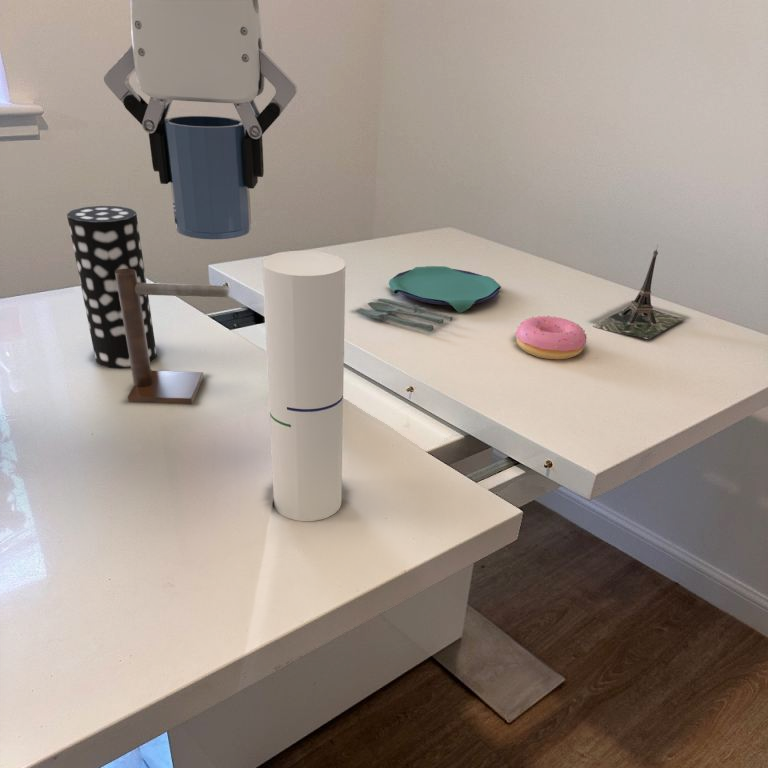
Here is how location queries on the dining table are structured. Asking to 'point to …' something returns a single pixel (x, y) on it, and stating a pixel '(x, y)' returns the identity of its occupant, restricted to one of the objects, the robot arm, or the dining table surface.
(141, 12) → the robot arm
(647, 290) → the eiffel tower figurine
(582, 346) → the doughnut
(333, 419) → the cylindrical container
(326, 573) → the dining table surface
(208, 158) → the mug
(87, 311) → the white-spotted black cylinder
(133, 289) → the mug stand
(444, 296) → the cutlery set
